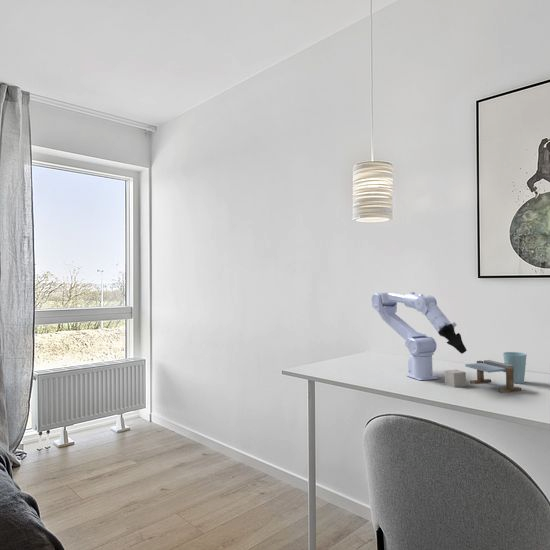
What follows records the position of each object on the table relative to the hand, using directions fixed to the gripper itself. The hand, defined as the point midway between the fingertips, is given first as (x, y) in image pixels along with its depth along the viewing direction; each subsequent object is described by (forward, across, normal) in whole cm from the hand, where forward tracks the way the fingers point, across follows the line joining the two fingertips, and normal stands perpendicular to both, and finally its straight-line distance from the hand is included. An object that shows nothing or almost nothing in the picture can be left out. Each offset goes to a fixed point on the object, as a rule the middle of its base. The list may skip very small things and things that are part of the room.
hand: (461, 348), depth 159 cm
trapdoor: (+8, +10, -3) cm, 13 cm away
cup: (+11, +25, -7) cm, 28 cm away
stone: (+6, +10, +10) cm, 15 cm away
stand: (+12, +14, -1) cm, 19 cm away
